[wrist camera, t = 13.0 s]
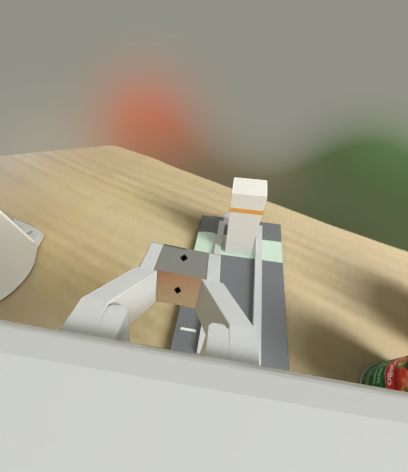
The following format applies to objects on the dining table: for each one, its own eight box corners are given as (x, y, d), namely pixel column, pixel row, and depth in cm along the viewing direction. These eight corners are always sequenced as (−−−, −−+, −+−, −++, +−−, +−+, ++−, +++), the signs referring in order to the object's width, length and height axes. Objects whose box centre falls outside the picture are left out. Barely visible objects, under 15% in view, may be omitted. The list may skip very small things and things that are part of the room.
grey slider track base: (168, 364, 26) (164, 360, 24) (202, 219, 41) (202, 208, 39) (286, 388, 25) (295, 386, 22) (278, 228, 39) (283, 217, 37)
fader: (224, 251, 34) (231, 193, 25) (226, 236, 36) (233, 177, 27) (250, 255, 34) (267, 197, 25) (251, 239, 36) (267, 180, 26)
